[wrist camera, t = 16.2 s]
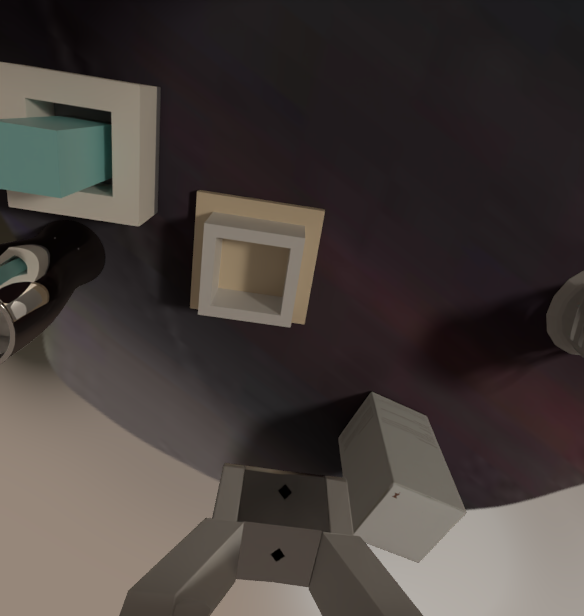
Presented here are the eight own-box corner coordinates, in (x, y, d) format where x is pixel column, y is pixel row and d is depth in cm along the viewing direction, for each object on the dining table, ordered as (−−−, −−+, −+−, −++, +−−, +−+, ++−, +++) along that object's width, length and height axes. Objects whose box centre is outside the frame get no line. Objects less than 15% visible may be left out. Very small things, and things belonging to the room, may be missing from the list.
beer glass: (107, 294, 43) (18, 383, 29) (33, 277, 42) (-93, 360, 29) (113, 225, 40) (18, 288, 26) (34, 205, 39) (-106, 260, 26)
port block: (32, 66, 35) (-9, 60, 30) (160, 87, 35) (140, 85, 31) (42, 194, 39) (8, 206, 35) (157, 212, 40) (139, 226, 35)
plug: (68, 115, 35) (-13, 119, 26) (118, 123, 36) (56, 130, 27) (70, 167, 37) (-4, 188, 28) (119, 174, 37) (61, 198, 28)
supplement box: (335, 437, 50) (346, 538, 38) (371, 388, 47) (394, 481, 35) (391, 462, 51) (418, 566, 40) (429, 416, 48) (470, 513, 37)
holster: (198, 189, 39) (186, 201, 34) (324, 209, 39) (327, 222, 35) (191, 304, 43) (179, 327, 39) (304, 320, 44) (304, 344, 39)
